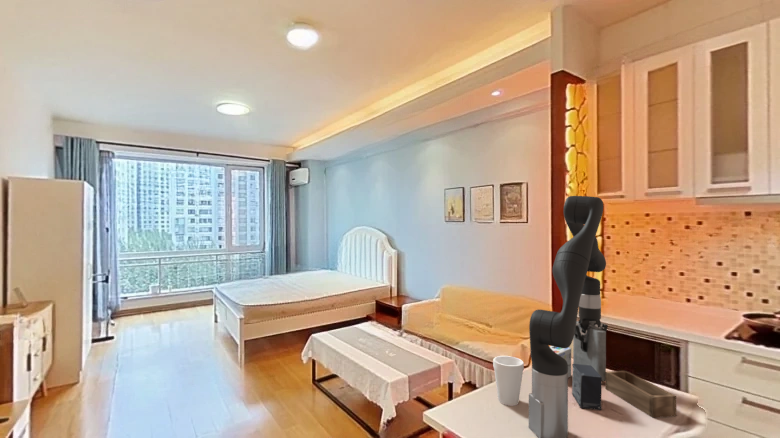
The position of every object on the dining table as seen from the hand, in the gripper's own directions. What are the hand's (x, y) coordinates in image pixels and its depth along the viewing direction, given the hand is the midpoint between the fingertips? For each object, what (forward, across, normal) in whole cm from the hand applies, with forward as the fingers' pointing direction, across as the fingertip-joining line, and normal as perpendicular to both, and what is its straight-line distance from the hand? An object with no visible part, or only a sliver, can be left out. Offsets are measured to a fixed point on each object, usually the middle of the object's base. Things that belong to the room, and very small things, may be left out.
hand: (589, 350), depth 144 cm
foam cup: (+10, -40, -15) cm, 44 cm away
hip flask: (+8, 0, 0) cm, 8 cm away
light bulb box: (+10, -13, +1) cm, 16 cm away
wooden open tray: (+10, +2, -21) cm, 23 cm away
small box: (+10, -15, -19) cm, 26 cm away
